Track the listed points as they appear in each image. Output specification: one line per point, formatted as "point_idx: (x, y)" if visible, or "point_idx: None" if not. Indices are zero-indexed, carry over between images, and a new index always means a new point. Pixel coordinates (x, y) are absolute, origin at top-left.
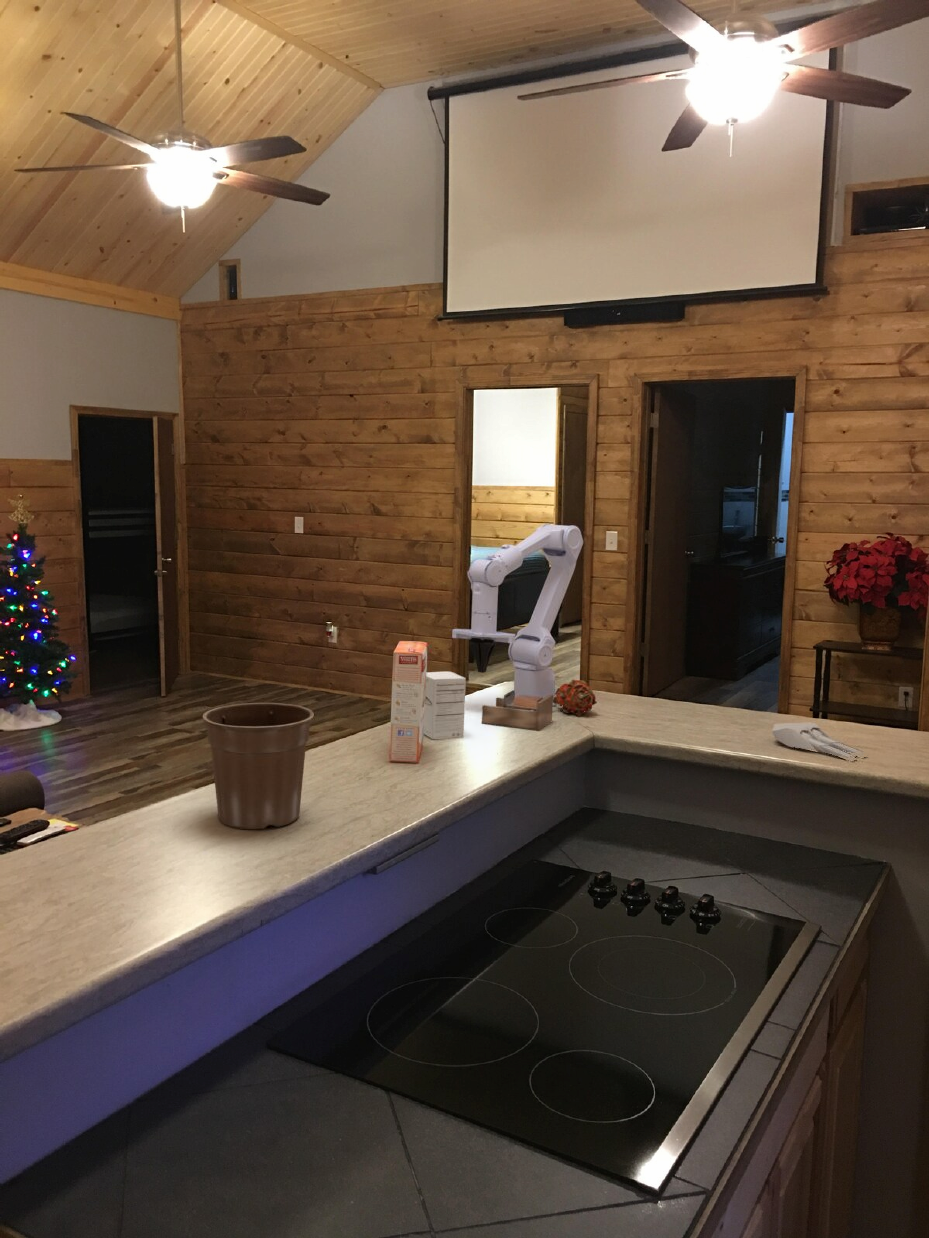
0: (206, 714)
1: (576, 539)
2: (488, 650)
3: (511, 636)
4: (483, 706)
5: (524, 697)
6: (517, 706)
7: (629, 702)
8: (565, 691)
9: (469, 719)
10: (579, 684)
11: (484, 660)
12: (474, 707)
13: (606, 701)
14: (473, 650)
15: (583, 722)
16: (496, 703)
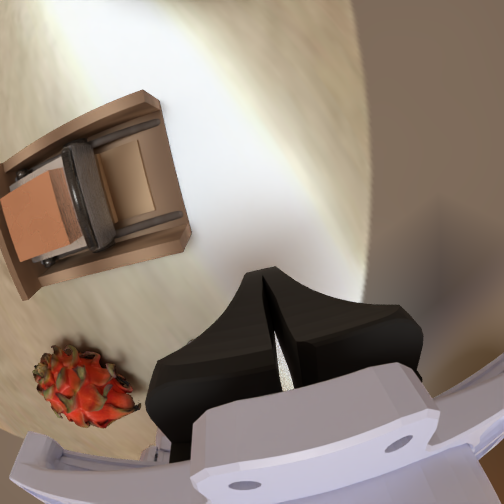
0: None
1: None
2: (184, 348)
3: (14, 471)
4: (139, 91)
5: (37, 211)
6: (49, 165)
7: (113, 447)
8: (77, 383)
9: (220, 119)
10: (44, 395)
11: (232, 300)
12: (296, 268)
13: (134, 443)
14: (342, 304)
15: (30, 303)
16: (180, 233)
